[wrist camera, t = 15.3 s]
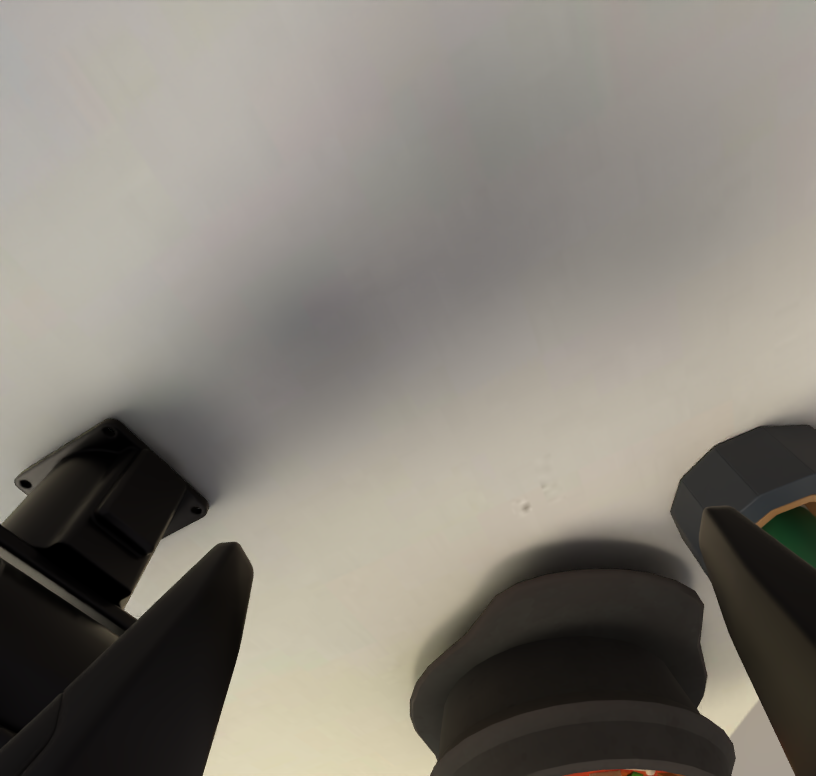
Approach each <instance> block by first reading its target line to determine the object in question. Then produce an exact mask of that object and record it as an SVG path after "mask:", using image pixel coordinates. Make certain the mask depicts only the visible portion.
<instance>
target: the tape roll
mask: <svg viewBox="0 0 816 776" xmlns="http://www.w3.org/2000/svg"><path fill="white" fill-rule="evenodd" d="M803 504H804V505H805V506H806V507H807V508H808V509H809V511H810V512H811V513H812V514H813V515H814V516H815V517H816V429H815V428H813V427H811V426H809V425H808V426H807V425H797V426H767V427H759V428H756V429H754V430H752V431H750V432H747V433H745V434H743V435H740V436H738V437H736V438H733V439H731V440H729V441H726V442H724V443H722V444H719V445H717V446H715V447H714V448H713V449H712V450H711V451H709V452H708V453H707V454H706V455H705V456H704V457H703V458H702V459H701V460H700V461H699V462H698V463H697V464H696V465H695V466H694V467H693V468H692V469H691V470H690V471H689V472H688V473H687V474H686V475H685V476H684V477H683V478H682V479H681V480H680V483H679V486H678V490H677V493H676V496H675V499H674V502H673V505H672V508H671V515H672V517H673V519H674V522H675V524H676V526H677V528H678V530H679V532H680V535H681V537H682V539H683V540H684V542H685V543H686V545H687V546H688V548H689V549H690V551H691V552H692V554H693V555H694V557H695V558H696V560H697V561H698V563H699V564H700V566H701V567H702V569H703V570H704V572H705V573H706V575H707V576H708V578H709V579H710V577H709V574H708V571H707V568H706V565H705V562H704V559H703V556H702V554H701V550H700V546H699V532H700V526H701V520H702V513H703V510H704V509H705V508H706V507H713V506H731V507H733V508H735V509H736V510H737V511H739V512H740V513H741V514H743V515H744V516H745V517H747V518H748V519H749V520H751V521H752V522H753V523H755V524H756V525H758V526H759V527H760V528H761V527H763V526H764V525H765V524H766V523H767V522H769V521H770V520H771V519H772V518H773V517H775V516H776V515H778V514H780V513H783V512H785V511H788V510H790V509H793V508H796V507H798V506H801V505H803ZM710 581H711V580H710Z"/></svg>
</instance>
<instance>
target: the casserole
mask: <svg viewBox="0 0 816 776" xmlns="http://www.w3.org/2000/svg"><path fill="white" fill-rule="evenodd" d="M703 612H704V604H703V602H702V601H701V599H700V598H699V596H698V595H697V593H696V592H695V591H694V590H693V589H691V588H689V587H687V586H685V585H683V584H682V583H680V582H678V581H676V580H673V579H669V578H666V577H662V576H659V575H655V574H652V573H648V572H640V571H632V570H623V569H579V570H572V571H566V572H559V573H552V574H546V575H543V576H539V577H536V578H532V579H529V580H526V581H522V582H519V583H517V584H515V585H513V586H512V587H510V588H508V589H506V590H505V591H503V592H501V593H500V594H498V595H496V596H495V597H494V599H493V600H492V601H491V602H490V604H489V605H488V606H487V607H486V609H485V610H484V611H483V613H482V614H481V615H480V616H479V618H478V619H477V620H476V621H475V623H474V624H473V625H472V627H471V628H470V629H469V630H468V632H467V633H466V634H465V635H464V636H463V637H462V638H460V639H459V640H458V641H457V642H456V643H455V644H453V645H452V646H451V647H450V648H449V649H448V650H446V651H445V652H444V653H443V654H442V655H441V656H440V657H438V658H437V659H436V660H435V661H434V662H433V663H432V664H430V665H429V666H428V667H427V669H426V670H425V672H424V673H423V674H422V676H421V677H420V679H419V680H418V681H417V683H416V685H415V688H414V690H413V693H412V696H411V699H410V717H411V720H412V723H413V726H414V728H415V731H416V732H417V733H418V735H419V736H420V737H421V738H422V740H423V741H424V742H425V743H426V744H427V746H428V747H429V748H430V749H431V751H432V752H433V753H434V754H435V755H436V758H437V761H438V762H437V763H436V765H435V766H434V768H433V770H432V773H431V775H430V776H731V774H732V770H733V766H734V762H735V759H736V758H735V752H734V746H733V743H732V742H731V740H730V739H729V737H728V736H727V734H726V733H725V731H724V730H723V729H721V728H720V727H719V726H717V725H716V724H714V723H713V722H712V721H710V720H709V719H708V718H706V717H704V716H703V715H701V714H700V713H699V711H698V710H697V707H698V706H699V704H700V702H701V700H702V698H703V695H704V692H705V686H706V680H707V672H706V667H705V662H704V658H703V653H702V649H701V644H700V639H701V630H702V621H703Z"/></svg>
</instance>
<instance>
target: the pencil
mask: <svg viewBox="0 0 816 776" xmlns="http://www.w3.org/2000/svg"><path fill="white" fill-rule="evenodd" d="M761 528H762V529H763V530H764V531H766V532H767V533H768V534H770V535H771V536H772V537H774V538H775V539H776V540H778V541H779V542H780V543H782V544H783V545H784V546H786V547H787V548H788V549H790V550H791V551H792V552H794V553H795V554H796V555H798V556H799V557H801V558H802V559H803V560H805V561H806V562H807V563H809V564H810V565H811V566H813V567H814V568H815V569H816V517H815V516H814V515H813V514H812V513H811V512H810V511H809V509H808V508H807V507H806V506H805V505H804V504H803V505H801V506H798V507H796V508H793V509H790V510H788V511H785V512H783V513H780V514H778V515H776V516H775V517H773V518H772V519H771V520H770V521H769V522H767V523H766V524H765V525H764V526H763V527H761Z"/></svg>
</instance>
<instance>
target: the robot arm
mask: <svg viewBox="0 0 816 776" xmlns="http://www.w3.org/2000/svg"><path fill="white" fill-rule="evenodd" d="M108 428H111V429H112V430H114V432H112V431H110V430H109V429H108ZM14 483H15V485H16V486H17V487H18V488H19V489H20V490H21V491H23V492H24V493H25V494H27V495H28V496H27V497H26V498H25V499H24V500H23V501H22V503H21V504H20V505H19V506H18V507H17V508H16V509H15V510H14V511H13V512H12V513H11V514H10V516H9V517H8V518H7V519H6V520H5V521H4V522H3V523H2V524H0V776H203V773H204V769H205V766H206V762H207V759H208V756H209V752H210V749H211V745H212V742H213V739H214V735H215V732H216V728H217V725H218V722H219V718H220V715H221V711H222V708H223V705H224V701H225V698H226V694H227V691H228V688H229V684H230V681H231V677H232V674H233V671H234V667H235V664H236V660H237V656H238V653H239V649H240V644H241V640H242V635H243V630H244V624H245V619H246V614H247V608H248V603H249V598H250V593H251V587H252V582H253V567H252V565H251V563H250V561H249V559H248V557H247V556H246V554H245V552H244V551H243V549H242V547H241V545H240V544H239V543H237V542H226V543H219V544H217V545H216V546H214V547H213V548H212V549H211V550H210V551H209V552H208V553H207V554H206V555H205V556H204V557H203V558H202V559H201V560H200V561H199V562H198V563H197V564H196V565H194V566H193V567H192V568H191V569H190V570H189V571H188V572H187V573H186V574H185V575H184V576H183V577H182V578H181V579H180V580H179V581H178V582H177V583H176V584H175V585H174V586H172V587H171V588H170V589H169V590H168V591H167V592H166V593H165V594H164V595H163V596H162V597H161V598H160V599H159V600H158V601H157V602H156V603H155V604H154V605H153V606H152V607H150V608H149V609H148V610H147V611H146V612H145V613H144V614H143V615H142V616H141V617H140V618H139V619H138V620H137V619H136V618H134V617H133V616H131V615H130V614H129V613H127V612H126V611H124V608H125V606H126V604H127V602H128V600H129V599H130V597H131V595H132V593H133V591H134V589H135V587H136V585H137V583H138V581H139V580H140V578H141V576H142V574H143V572H144V570H145V568H146V566H147V564H148V563H149V561H150V559H151V557H152V555H153V553H154V551H155V549H156V547H157V546H158V544H159V542H160V540H161V539H163V538H164V537H166V536H168V535H170V534H172V533H174V532H176V531H178V530H180V529H182V528H183V527H185V526H187V525H189V524H191V523H193V522H195V521H197V520H199V519H200V518H202V517H204V516H205V515H206V513H207V511H208V509H209V503H208V502H207V501H206V500H205V499H204V498H203V497H202V496H201V495H200V494H199V493H198V492H196V491H195V490H194V489H193V488H192V487H191V486H190V485H189V484H188V483H187V482H186V481H184V480H183V479H182V478H181V477H180V476H179V475H178V474H177V473H176V472H175V471H174V470H173V469H171V468H170V467H169V466H168V465H167V464H166V463H165V462H164V461H163V460H162V459H161V458H159V457H158V456H157V455H156V454H155V453H154V452H153V451H152V450H151V449H150V448H149V447H147V446H146V445H145V444H144V443H143V442H142V441H141V440H140V439H139V438H138V437H137V436H136V435H134V434H133V433H132V432H131V431H130V430H129V429H128V428H127V427H126V426H125V425H124V424H122V423H121V422H120V421H118V420H116V419H106V420H104V421H102V422H101V423H99V424H98V425H96V426H94V427H93V428H91V429H90V430H88V431H86V432H85V433H83V434H82V435H80V436H78V437H77V438H75V439H74V440H72V441H70V442H69V443H67V444H66V445H64V446H63V447H61V448H59V449H58V450H56V451H55V452H53V453H51V454H50V455H48V456H47V457H45V458H43V459H42V460H40V461H39V462H37V463H35V464H34V465H32V466H31V467H29V468H27V469H26V470H24V471H23V472H21V473H20V474H19V475H18V476H17V478H16V479H15V481H14ZM196 507H199V508H200V509H198V508H196ZM699 546H700V550H701V554H702V556H703V559H704V562H705V565H706V568H707V571H708V574H709V577H710V580H711V583H712V586H713V589H714V592H715V594H716V597H717V600H718V603H719V606H720V609H721V612H722V615H723V618H724V621H725V624H726V626H727V629H728V632H729V634H730V637H731V639H732V641H733V644H734V646H735V648H736V650H737V652H738V655H739V657H740V659H741V661H742V663H743V665H744V667H745V669H746V672H747V674H748V676H749V678H750V680H751V682H752V684H753V686H754V689H755V691H756V693H757V695H758V697H759V699H760V701H761V703H762V706H763V707H764V710H765V712H766V714H767V716H768V718H769V720H770V723H771V725H772V727H773V729H774V731H775V733H776V735H777V737H778V740H779V742H780V744H781V746H782V748H783V750H784V752H785V754H786V757H787V759H788V761H789V763H790V765H791V767H792V769H793V771H794V773H795V776H816V569H815V568H814V567H813V566H811V565H810V564H809V563H807V562H806V561H805V560H803V559H802V558H801V557H799V556H798V555H796V554H795V553H794V552H792V551H791V550H790V549H788V548H787V547H786V546H784V545H783V544H782V543H780V542H779V541H778V540H776V539H775V538H774V537H772V536H771V535H770V534H768V533H767V532H766V531H764V530H763V529H762V528H760V527H759V526H758V525H756V524H755V523H753V522H752V521H751V520H749V519H748V518H747V517H745V516H744V515H743V514H741V513H740V512H739V511H737V510H736V509H735V508H733V507H731V506H713V507H706V508H705V509H704V510H703V513H702V520H701V526H700V532H699Z"/></svg>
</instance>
